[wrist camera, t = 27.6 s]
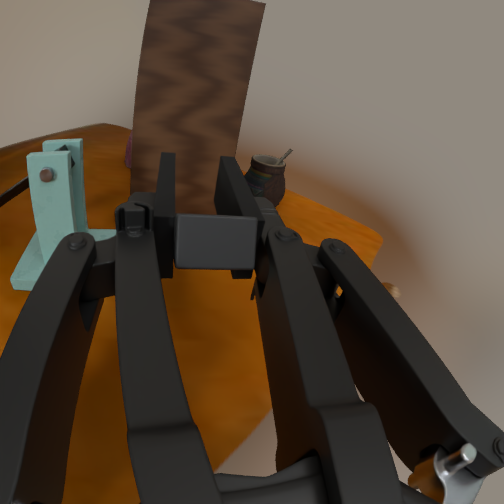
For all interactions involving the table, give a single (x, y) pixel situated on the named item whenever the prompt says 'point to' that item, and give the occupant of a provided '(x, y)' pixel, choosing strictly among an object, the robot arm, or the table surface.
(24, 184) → the black knobbed rod
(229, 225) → the spatula
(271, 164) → the mate gourd
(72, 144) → the mounting bracket
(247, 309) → the table surface
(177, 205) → the shelf block
